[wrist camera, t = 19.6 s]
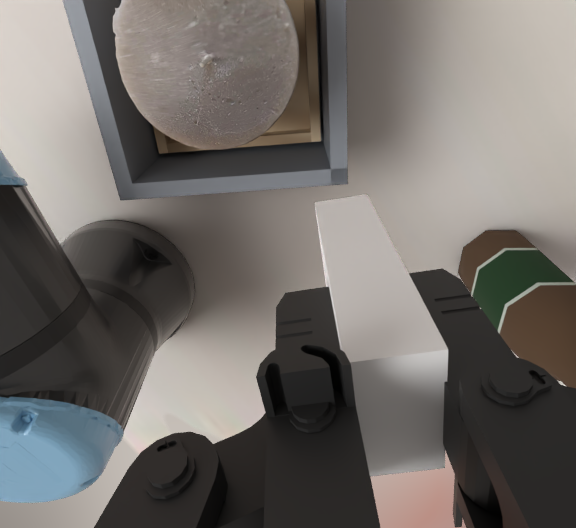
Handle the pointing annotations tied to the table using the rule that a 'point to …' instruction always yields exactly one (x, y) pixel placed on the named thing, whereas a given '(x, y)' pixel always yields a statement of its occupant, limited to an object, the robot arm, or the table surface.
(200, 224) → the table surface
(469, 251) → the beer bottle
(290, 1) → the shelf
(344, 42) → the cradle
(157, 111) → the pillar candle
